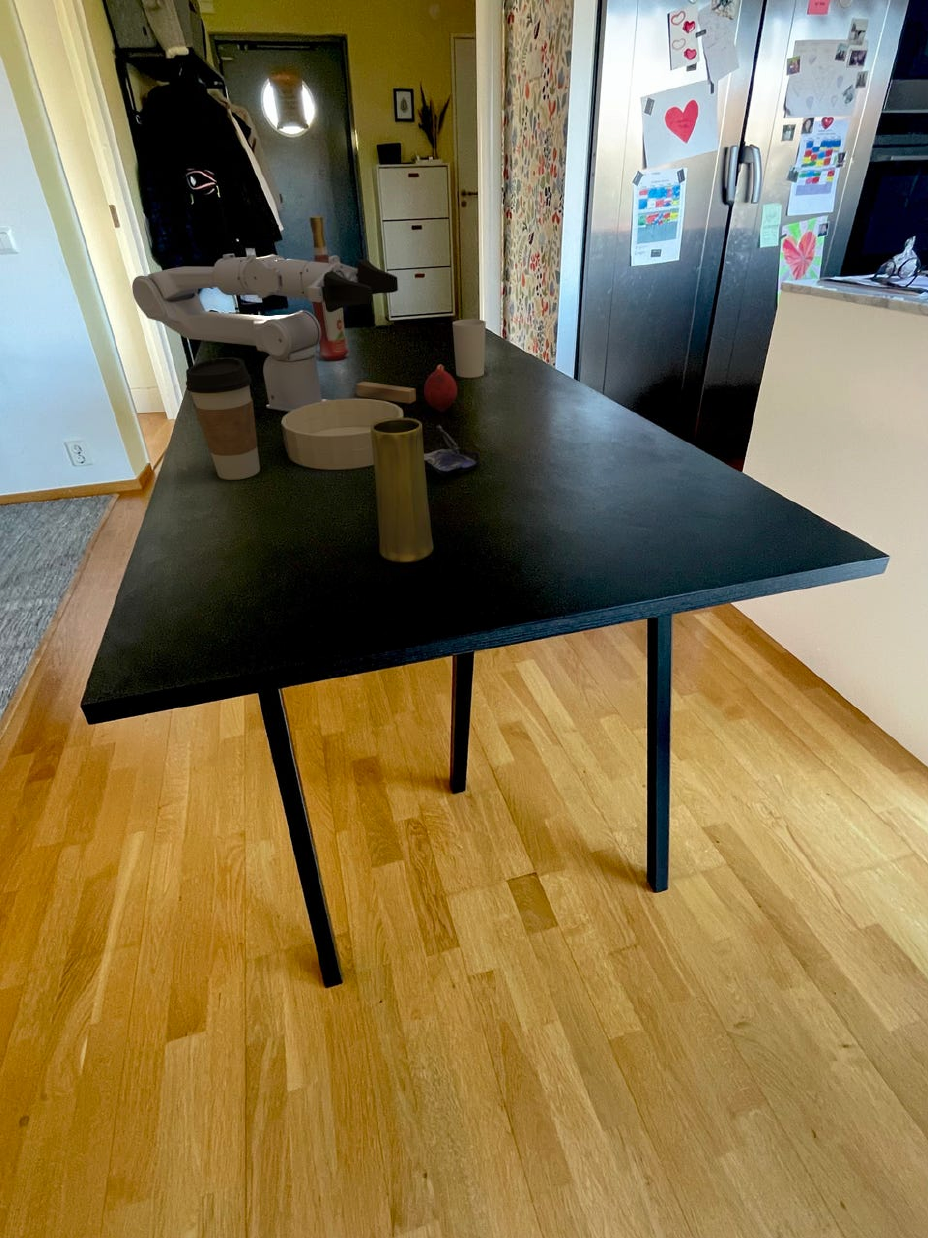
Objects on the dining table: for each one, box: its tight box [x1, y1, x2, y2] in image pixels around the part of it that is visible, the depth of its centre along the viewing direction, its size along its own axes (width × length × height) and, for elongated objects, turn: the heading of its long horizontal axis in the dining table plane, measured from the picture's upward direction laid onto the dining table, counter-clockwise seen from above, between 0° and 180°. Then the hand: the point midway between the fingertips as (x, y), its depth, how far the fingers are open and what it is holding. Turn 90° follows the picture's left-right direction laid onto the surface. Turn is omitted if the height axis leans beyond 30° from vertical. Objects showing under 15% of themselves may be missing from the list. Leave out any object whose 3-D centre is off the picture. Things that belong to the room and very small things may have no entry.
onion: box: [423, 364, 458, 413], centre depth 115 cm, size 6×6×8 cm
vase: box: [371, 417, 435, 564], centre depth 71 cm, size 6×6×14 cm
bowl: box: [280, 398, 405, 471], centre depth 102 cm, size 18×18×5 cm
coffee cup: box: [185, 356, 261, 481], centre depth 92 cm, size 8×8×15 cm
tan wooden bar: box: [355, 381, 417, 405], centre depth 125 cm, size 12×2×2 cm, turn 61°
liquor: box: [309, 216, 349, 361], centre depth 146 cm, size 7×7×28 cm
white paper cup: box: [452, 318, 487, 379], centre depth 136 cm, size 7×7×10 cm
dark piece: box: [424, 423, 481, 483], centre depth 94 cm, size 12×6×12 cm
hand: (384, 289), depth 103 cm, fingers open, 7 cm apart
